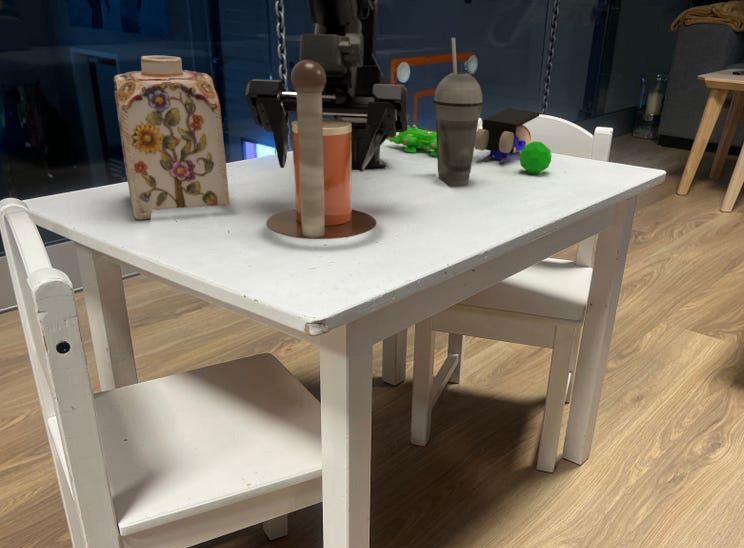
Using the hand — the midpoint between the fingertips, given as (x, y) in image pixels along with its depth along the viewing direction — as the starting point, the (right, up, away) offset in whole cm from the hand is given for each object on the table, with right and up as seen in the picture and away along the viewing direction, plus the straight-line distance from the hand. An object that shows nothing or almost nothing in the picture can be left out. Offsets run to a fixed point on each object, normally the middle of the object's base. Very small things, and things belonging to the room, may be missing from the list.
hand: (320, 167), depth 83 cm
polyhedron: (+31, +8, +33) cm, 46 cm away
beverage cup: (+17, +5, +26) cm, 32 cm away
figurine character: (+28, +13, +44) cm, 53 cm away
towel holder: (0, -7, +3) cm, 8 cm away
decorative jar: (-20, -2, +12) cm, 23 cm away
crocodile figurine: (+14, +15, +46) cm, 50 cm away
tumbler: (0, -5, +4) cm, 6 cm away
